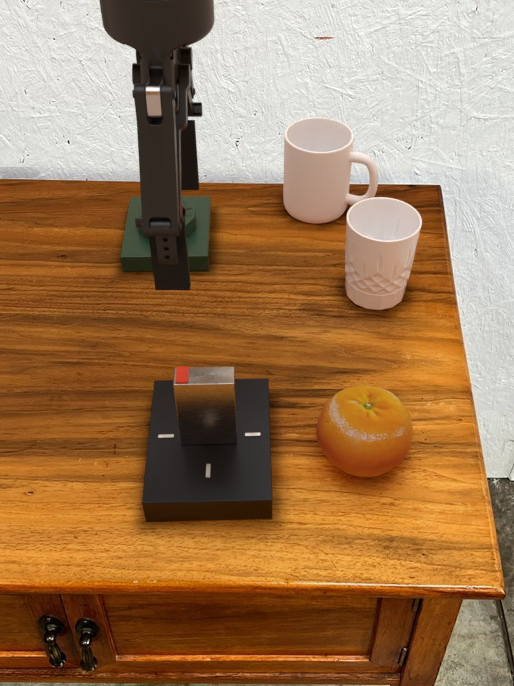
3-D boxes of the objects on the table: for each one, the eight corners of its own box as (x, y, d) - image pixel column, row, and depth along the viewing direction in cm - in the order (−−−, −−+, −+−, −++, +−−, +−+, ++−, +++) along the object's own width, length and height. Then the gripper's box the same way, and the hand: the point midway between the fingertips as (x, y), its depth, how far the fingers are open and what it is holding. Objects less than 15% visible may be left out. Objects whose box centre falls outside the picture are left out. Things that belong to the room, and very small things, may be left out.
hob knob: (237, 426, 71) (234, 364, 65) (237, 444, 69) (234, 381, 63) (182, 427, 71) (174, 365, 65) (181, 445, 69) (172, 382, 63)
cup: (297, 182, 103) (299, 111, 96) (383, 203, 100) (392, 131, 93) (272, 215, 98) (273, 143, 91) (362, 239, 95) (371, 166, 88)
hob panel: (157, 400, 77) (154, 379, 74) (268, 398, 77) (268, 377, 75) (145, 522, 67) (141, 501, 65) (272, 519, 68) (272, 498, 65)
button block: (132, 211, 98) (128, 184, 96) (211, 210, 99) (209, 183, 96) (122, 272, 90) (117, 244, 87) (208, 270, 91) (206, 243, 88)
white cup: (337, 310, 86) (343, 237, 79) (342, 266, 91) (349, 193, 84) (408, 317, 85) (421, 244, 78) (410, 272, 91) (422, 200, 84)
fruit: (427, 397, 73) (393, 365, 66) (423, 486, 70) (387, 461, 63) (346, 405, 77) (307, 375, 71) (339, 489, 74) (298, 465, 68)
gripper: (118, -97, 58) (148, 153, 74) (62, 55, 41) (116, 337, 57) (218, -95, 59) (227, 154, 74) (203, 57, 42) (218, 337, 57)
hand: (179, 234), depth 66 cm, fingers open, 13 cm apart
